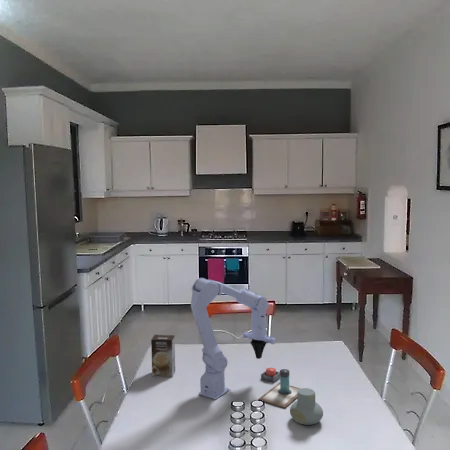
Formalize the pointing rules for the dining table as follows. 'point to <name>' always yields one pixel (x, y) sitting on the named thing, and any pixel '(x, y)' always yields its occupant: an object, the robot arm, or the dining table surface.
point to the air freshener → (306, 408)
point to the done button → (271, 372)
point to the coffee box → (163, 355)
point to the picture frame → (280, 396)
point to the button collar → (270, 377)
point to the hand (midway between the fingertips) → (258, 357)
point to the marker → (284, 381)
